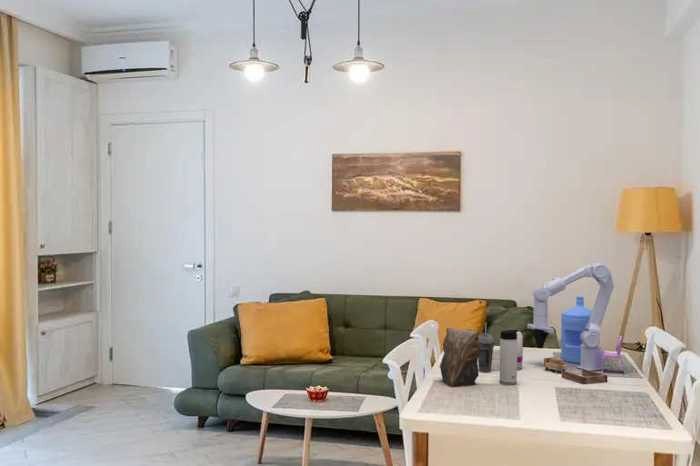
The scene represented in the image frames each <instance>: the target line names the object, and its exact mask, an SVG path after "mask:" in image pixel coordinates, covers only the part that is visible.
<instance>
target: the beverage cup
mask: <svg viewBox="0 0 700 466" xmlns="http://www.w3.org/2000/svg"><path fill="white" fill-rule="evenodd" d="M484 323H485V324H484V332H482V333H479V335H478V341H479V345H480V346H479V351H480V354H479V357H478V360H477V362H478V372H480V373H491V372H492V364H493V354H494V347H495V343H496V342H495V339H494V337H493V335H492V334H491V333H489V332H487V322H486V321H485V322H484Z"/></svg>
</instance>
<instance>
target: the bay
mask: <svg viewBox="0 0 700 466" xmlns="http://www.w3.org/2000/svg"><path fill="white" fill-rule="evenodd" d="M561 378H562V379H564V380H568V381H571V382H573V383H574V382H575V383H578V384H582V385H590V384H592V385H593V384H598V383H599V384H600V383H608V375H607V374H604V373H600V372H597V371H594V370H592V371H590V370H586V369H581V375H579V374H575V373H572V372H569V371H566V370H565V371H562V370H561Z"/></svg>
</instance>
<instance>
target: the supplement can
mask: <svg viewBox="0 0 700 466" xmlns="http://www.w3.org/2000/svg"><path fill="white" fill-rule="evenodd" d="M523 338H524V336H523V334H522V332H521V331H518V332H517V371H521V370H522V368H523V359H524V357H523V356H524V355H523V351H524V350H523V349H524V348H523V347H524V346H523V345H524V344H523V343H524V342H523V340H524V339H523Z"/></svg>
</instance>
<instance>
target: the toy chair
mask: <svg viewBox="0 0 700 466" xmlns="http://www.w3.org/2000/svg"><path fill="white" fill-rule="evenodd" d="M622 339H623V336H622V335H619V336H618V337H617V341H616V344H615V348H616V352H607V351H606V352H605V351H604V355H603V356H602V370H601V371H602V374H604V373H605V369H603V359H604V358H605V359H606V358H614V359H620V360H621V366H622V371H624V372H623V374H625V375H626V373H625V369H624V363H623V358H622V356H621V355H622V354H621V353H622V346H623V342H622Z"/></svg>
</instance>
